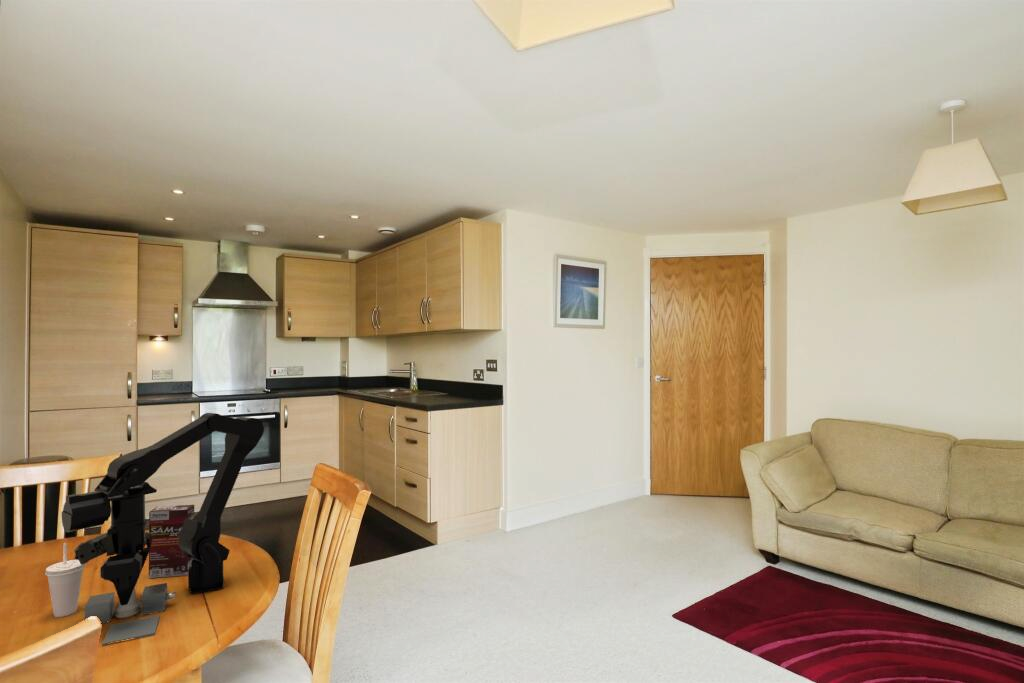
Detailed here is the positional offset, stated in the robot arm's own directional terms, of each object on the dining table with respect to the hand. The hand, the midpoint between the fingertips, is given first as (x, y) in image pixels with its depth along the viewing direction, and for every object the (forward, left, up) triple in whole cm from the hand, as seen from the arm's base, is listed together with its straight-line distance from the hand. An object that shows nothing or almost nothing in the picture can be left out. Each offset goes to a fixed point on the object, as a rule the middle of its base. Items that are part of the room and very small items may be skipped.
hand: (128, 595), depth 111 cm
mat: (-2, +9, -4) cm, 10 cm away
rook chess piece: (0, 0, -4) cm, 4 cm away
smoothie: (+12, -7, -4) cm, 14 cm away
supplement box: (-6, -20, -4) cm, 21 cm away
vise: (0, 0, -4) cm, 4 cm away
